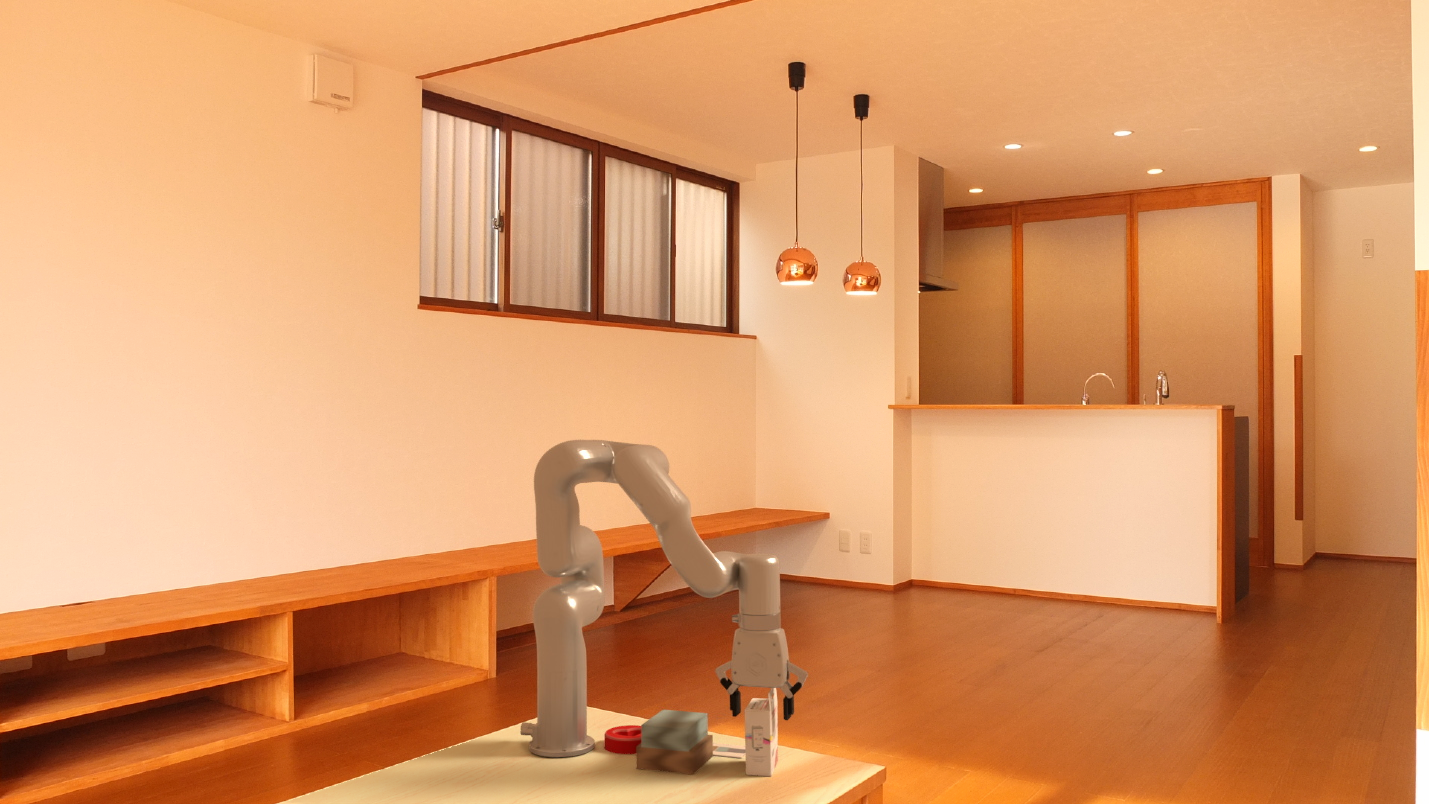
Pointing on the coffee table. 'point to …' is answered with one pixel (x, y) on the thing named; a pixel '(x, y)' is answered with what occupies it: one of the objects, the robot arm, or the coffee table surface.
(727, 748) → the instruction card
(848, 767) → the coffee table surface
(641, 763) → the pedestal
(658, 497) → the robot arm
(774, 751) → the ink cartridge box
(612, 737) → the decorative ornament
